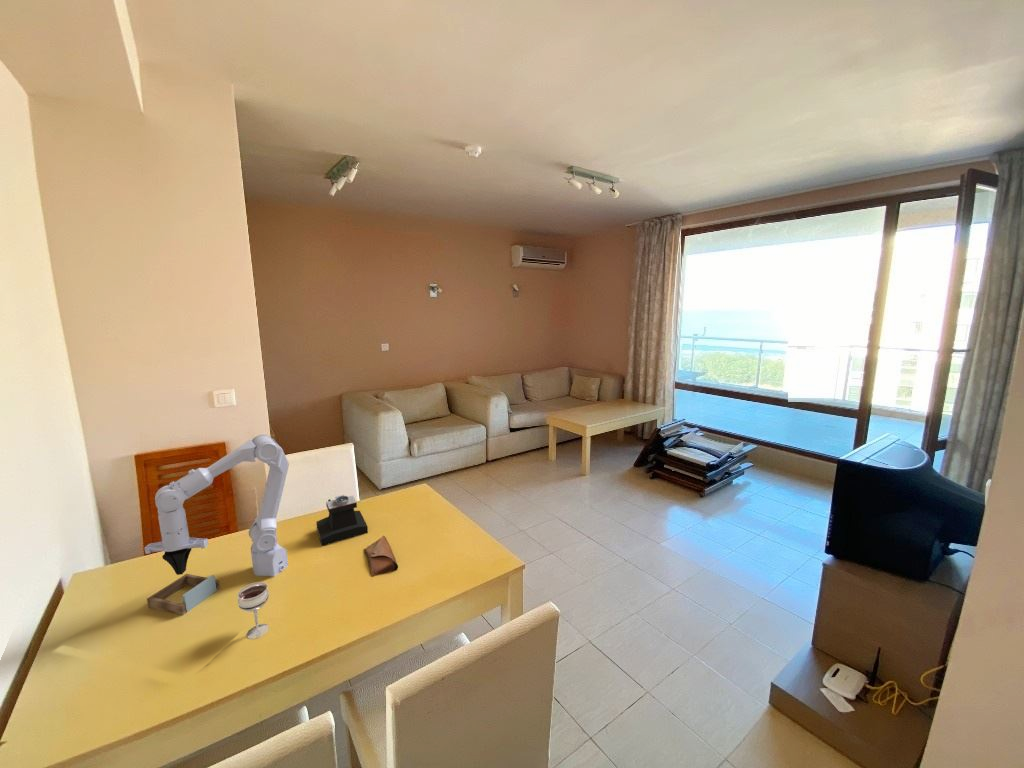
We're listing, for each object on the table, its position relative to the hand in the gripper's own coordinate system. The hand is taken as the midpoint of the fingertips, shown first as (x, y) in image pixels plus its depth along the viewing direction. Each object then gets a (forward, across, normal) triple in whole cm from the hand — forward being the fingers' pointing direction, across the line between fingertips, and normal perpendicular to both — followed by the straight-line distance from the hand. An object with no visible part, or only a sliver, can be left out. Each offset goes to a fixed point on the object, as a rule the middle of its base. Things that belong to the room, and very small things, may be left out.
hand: (181, 572), depth 115 cm
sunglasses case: (+10, -52, -11) cm, 54 cm away
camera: (+10, -36, -32) cm, 49 cm away
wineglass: (+10, -25, +16) cm, 31 cm away
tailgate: (+8, -6, +2) cm, 10 cm away
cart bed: (+9, 0, 0) cm, 9 cm away
